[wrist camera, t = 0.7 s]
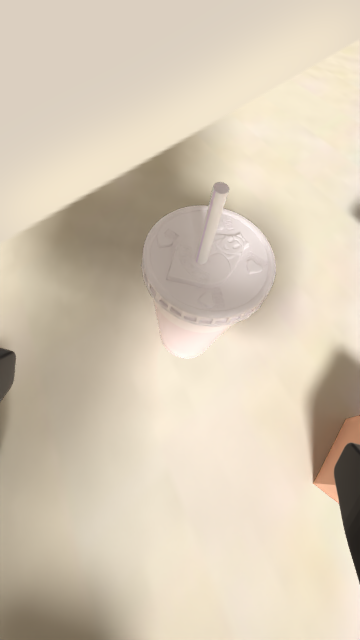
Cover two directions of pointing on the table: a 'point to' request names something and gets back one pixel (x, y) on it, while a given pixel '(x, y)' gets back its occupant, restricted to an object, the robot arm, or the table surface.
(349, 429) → the terracotta block
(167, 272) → the smoothie
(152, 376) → the table surface
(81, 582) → the table surface
